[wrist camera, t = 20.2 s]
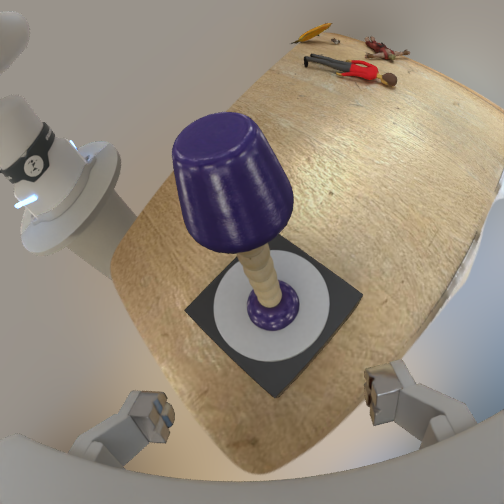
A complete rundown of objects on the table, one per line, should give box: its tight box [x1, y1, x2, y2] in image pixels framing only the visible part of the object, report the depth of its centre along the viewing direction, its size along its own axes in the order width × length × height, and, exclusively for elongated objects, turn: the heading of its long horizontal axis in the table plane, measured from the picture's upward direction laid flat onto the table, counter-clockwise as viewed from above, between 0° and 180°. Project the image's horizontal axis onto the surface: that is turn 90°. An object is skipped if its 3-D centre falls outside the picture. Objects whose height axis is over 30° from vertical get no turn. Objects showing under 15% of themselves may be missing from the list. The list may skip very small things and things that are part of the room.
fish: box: [291, 23, 332, 44], centre depth 50 cm, size 12×2×5 cm
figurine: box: [365, 37, 410, 60], centre depth 45 cm, size 12×3×11 cm
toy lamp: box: [172, 112, 300, 331], centre depth 16 cm, size 5×5×17 cm
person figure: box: [304, 54, 397, 86], centre depth 42 cm, size 5×4×18 cm
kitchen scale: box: [184, 234, 363, 398], centre depth 25 cm, size 11×11×4 cm
